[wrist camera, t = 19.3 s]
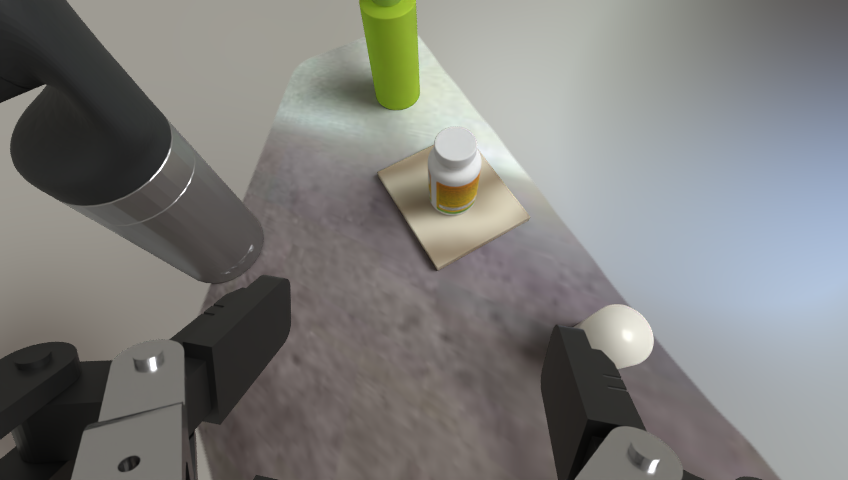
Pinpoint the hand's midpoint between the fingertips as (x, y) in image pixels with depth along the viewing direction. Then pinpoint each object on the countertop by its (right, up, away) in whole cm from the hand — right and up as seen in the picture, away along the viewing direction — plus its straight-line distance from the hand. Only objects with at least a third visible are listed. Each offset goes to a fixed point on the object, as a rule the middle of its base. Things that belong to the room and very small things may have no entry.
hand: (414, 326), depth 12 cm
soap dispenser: (-4, +22, +42) cm, 47 cm away
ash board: (+3, +8, +35) cm, 36 cm away
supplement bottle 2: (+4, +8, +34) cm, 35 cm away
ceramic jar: (+17, -8, +27) cm, 33 cm away
